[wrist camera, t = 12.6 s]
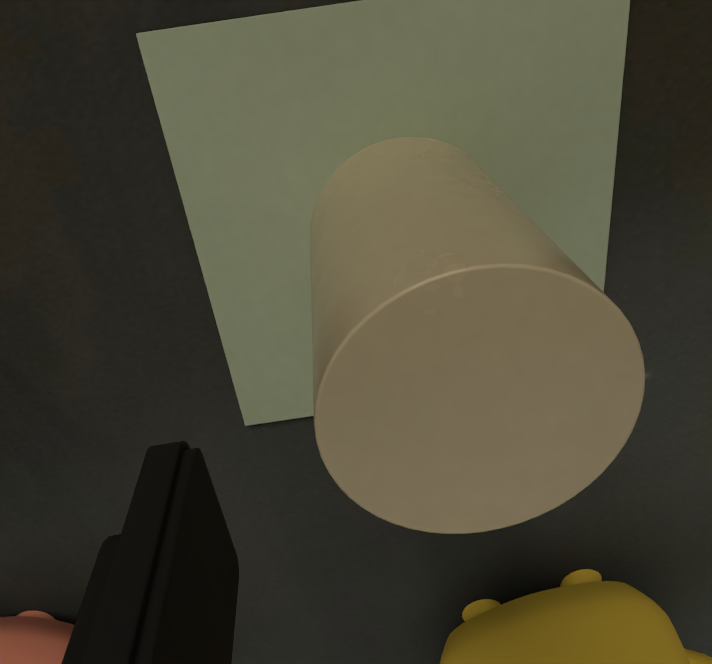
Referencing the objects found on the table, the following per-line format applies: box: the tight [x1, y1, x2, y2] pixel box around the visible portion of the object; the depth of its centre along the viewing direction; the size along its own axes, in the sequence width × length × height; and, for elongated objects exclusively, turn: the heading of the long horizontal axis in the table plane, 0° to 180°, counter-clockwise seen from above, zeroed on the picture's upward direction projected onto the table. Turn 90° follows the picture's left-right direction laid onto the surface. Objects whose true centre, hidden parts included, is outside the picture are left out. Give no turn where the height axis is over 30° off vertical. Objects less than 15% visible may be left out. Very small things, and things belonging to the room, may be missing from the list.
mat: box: [136, 0, 630, 426], centre depth 20 cm, size 14×14×1 cm
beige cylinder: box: [310, 137, 645, 534], centre depth 16 cm, size 6×6×10 cm
